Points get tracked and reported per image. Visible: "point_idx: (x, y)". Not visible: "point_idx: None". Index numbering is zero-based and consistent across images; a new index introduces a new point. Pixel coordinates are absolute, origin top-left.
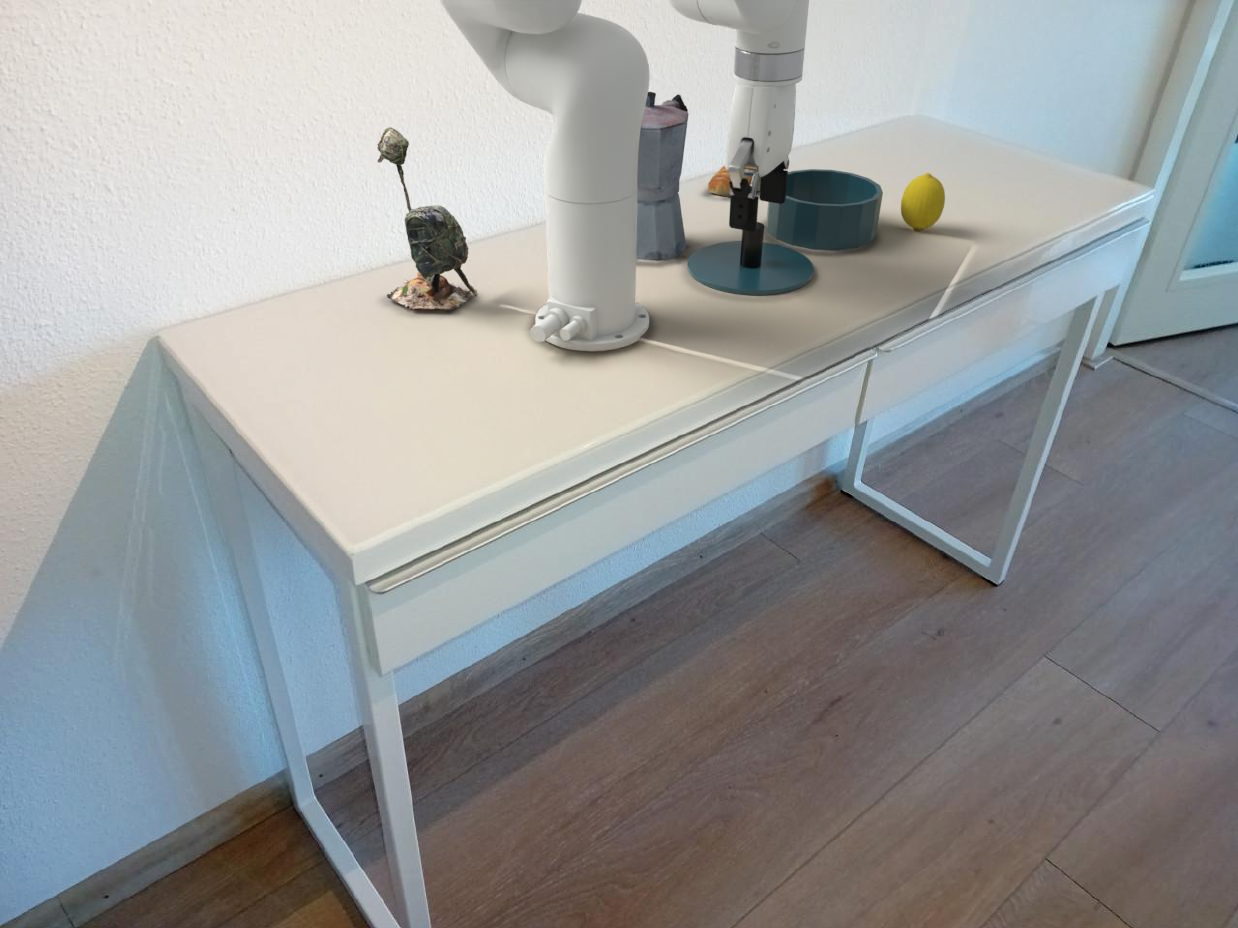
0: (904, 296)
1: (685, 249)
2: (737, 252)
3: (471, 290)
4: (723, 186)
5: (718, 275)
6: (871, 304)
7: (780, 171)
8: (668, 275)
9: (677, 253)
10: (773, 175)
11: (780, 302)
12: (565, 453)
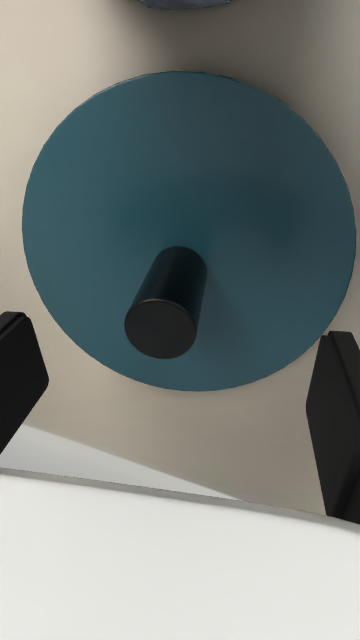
0: (221, 484)
1: (222, 2)
2: (241, 212)
3: None
4: None
5: (69, 226)
6: (169, 456)
7: (343, 515)
8: (43, 51)
9: (152, 3)
10: (337, 470)
11: None
12: None
